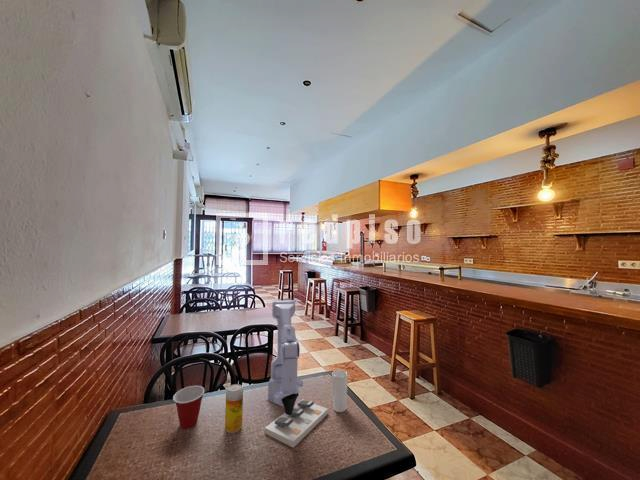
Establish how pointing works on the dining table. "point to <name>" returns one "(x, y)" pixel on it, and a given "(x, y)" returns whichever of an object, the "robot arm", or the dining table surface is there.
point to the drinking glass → (339, 390)
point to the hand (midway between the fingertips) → (288, 413)
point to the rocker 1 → (283, 421)
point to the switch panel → (297, 425)
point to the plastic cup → (188, 405)
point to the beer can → (234, 408)
